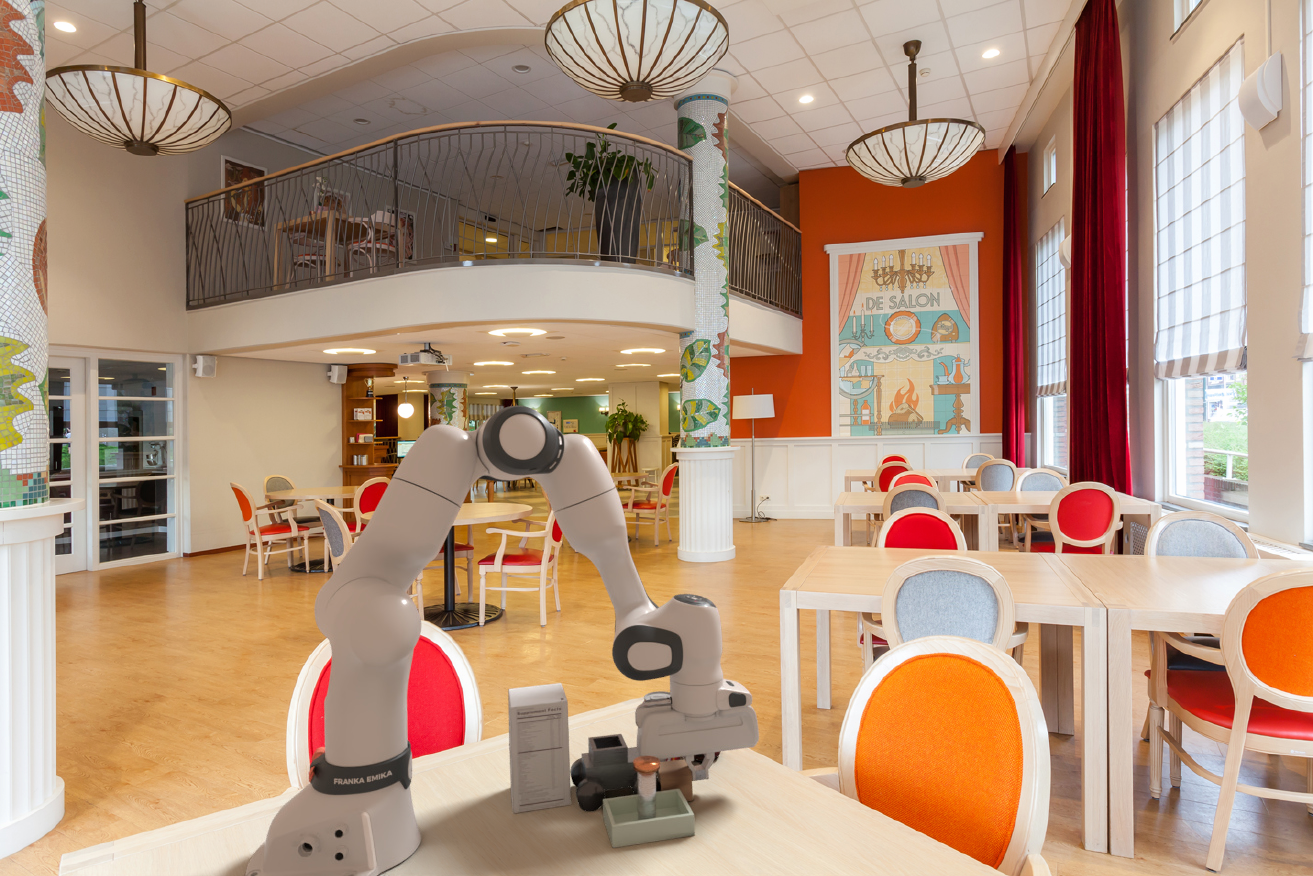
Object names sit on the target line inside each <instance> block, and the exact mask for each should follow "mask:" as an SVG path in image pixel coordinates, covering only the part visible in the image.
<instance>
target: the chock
mask: <svg viewBox="0 0 1313 876" xmlns="http://www.w3.org/2000/svg"><path fill="white" fill-rule="evenodd" d="M656 775H657V779H658V781H659V782H660V785H661V791H666V790H673V789H680V790H681V792H682V794H683V796H684V797H685V799H686V801H687V802H692V801H694V794H693V781H692V775H691V772H690V769H689V766H688V765H687V763H686V762H685V760H684V758H682V759H680V760H673V761H664V762H660V769H659V770H658V771H656Z"/></svg>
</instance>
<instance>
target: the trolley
mask: <svg viewBox="0 0 1313 876" xmlns="http://www.w3.org/2000/svg"><path fill="white" fill-rule="evenodd" d="M587 741H588V742H587V744H588V752H585V753H582V752H581V758H577V759H576V760H574V762H573V763H572V765H570V779H571V781H572V784H573V786H574V787H576V789H575V797H576V801H577V804H578V806H579V808H580V809H581V810H583V811H584V812H587V813H591V812H592V813H593V812H595V811H597V810H599V809H600V808H602V807H603V799H606V791H613V790H621V789H629V788H631V790H632V793H633V795H637V771H635V770H634V769H633V761H634V759H635V758H637V757H640V755H639V753H638V751H637V746H633V747H632V746H631V747H628V745H627V743H626V740H625V738H624V736H623V735H622V733H617V734H616V733H615V734H609V735H599V736H598V735H597V736H591V737H588V740H587ZM659 791H661V785H660V782H659V781H658V776H656V792H659Z"/></svg>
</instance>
